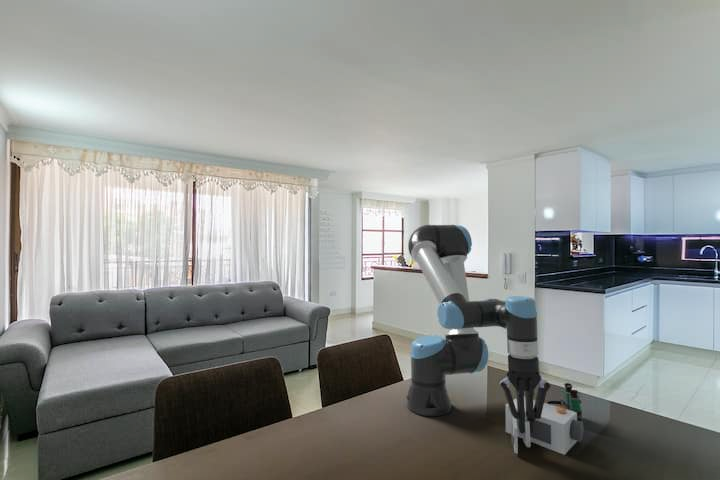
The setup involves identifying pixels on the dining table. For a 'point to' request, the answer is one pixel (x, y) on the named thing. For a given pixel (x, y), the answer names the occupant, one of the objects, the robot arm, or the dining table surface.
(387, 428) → the dining table surface
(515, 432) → the side door
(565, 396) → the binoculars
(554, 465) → the dining table surface
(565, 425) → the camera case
